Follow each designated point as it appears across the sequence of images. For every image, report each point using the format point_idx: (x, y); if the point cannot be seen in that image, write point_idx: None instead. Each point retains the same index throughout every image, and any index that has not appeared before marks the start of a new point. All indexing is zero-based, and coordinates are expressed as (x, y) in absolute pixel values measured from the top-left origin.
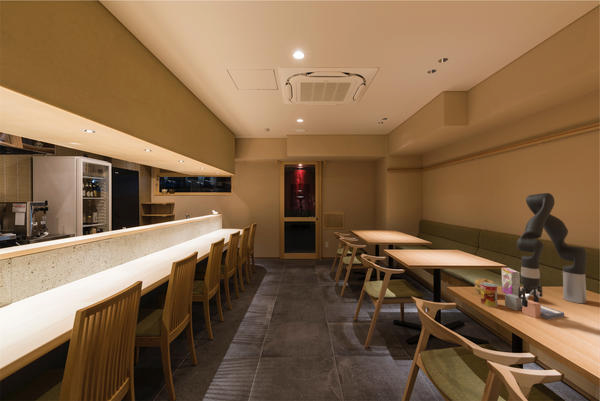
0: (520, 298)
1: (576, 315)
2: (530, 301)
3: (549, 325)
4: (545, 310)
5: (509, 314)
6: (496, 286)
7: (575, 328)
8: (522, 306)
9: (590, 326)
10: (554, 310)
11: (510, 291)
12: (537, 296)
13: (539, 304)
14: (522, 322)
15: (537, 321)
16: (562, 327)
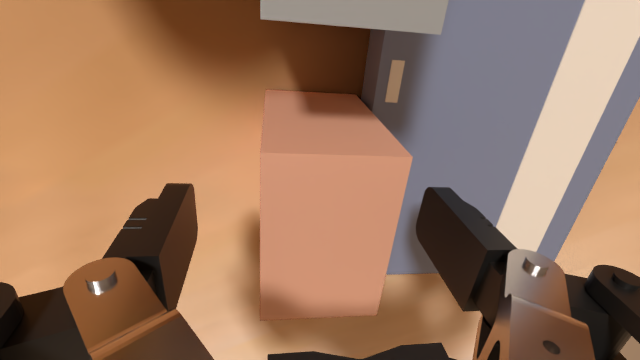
0: (403, 30)
1: (620, 258)
2: (342, 232)
3: (226, 306)
4: (478, 201)
5: (49, 52)
6: None
7: (347, 356)
8: (264, 114)
9: (463, 355)
10: (546, 226)
11: None
12: (475, 348)
13: (353, 308)
14: (26, 227)
15: (206, 248)
16: (283, 337)
